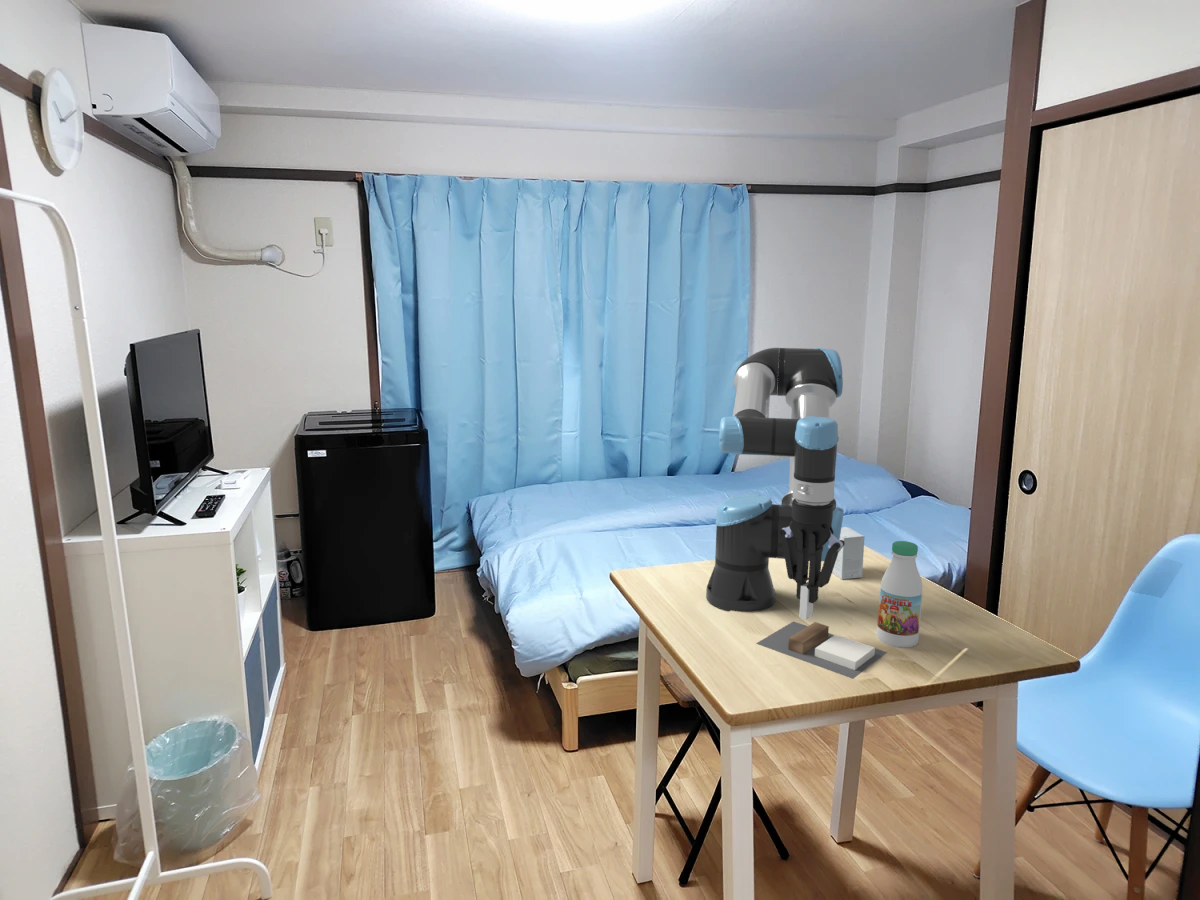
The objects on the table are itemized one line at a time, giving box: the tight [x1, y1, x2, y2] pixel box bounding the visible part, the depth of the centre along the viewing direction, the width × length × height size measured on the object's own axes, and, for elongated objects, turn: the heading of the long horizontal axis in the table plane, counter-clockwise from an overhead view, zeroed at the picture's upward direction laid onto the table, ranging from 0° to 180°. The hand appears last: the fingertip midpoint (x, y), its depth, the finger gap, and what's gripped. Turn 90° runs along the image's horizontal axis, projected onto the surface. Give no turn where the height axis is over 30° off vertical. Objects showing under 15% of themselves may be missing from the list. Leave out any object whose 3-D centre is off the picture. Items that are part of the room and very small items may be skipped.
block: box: [788, 621, 830, 655], centre depth 151 cm, size 3×10×2 cm, turn 136°
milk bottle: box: [876, 540, 923, 648], centre depth 152 cm, size 8×8×20 cm
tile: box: [815, 634, 875, 670], centre depth 146 cm, size 2×8×8 cm
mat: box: [755, 621, 888, 679], centre depth 150 cm, size 20×14×1 cm
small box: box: [832, 526, 865, 580], centre depth 188 cm, size 8×6×10 cm
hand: (805, 615), depth 152 cm, fingers closed
